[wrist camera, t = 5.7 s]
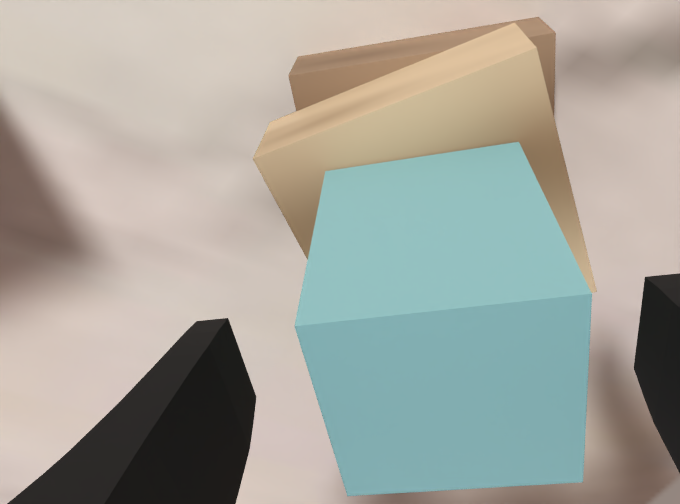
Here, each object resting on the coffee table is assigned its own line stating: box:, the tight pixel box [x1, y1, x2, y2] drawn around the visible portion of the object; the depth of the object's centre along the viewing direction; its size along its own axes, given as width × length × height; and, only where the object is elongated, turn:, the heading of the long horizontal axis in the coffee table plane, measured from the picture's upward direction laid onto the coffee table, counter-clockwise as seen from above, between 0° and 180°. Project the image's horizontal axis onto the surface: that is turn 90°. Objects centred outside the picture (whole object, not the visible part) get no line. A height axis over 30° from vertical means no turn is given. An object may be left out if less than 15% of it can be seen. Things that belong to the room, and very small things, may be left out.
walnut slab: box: [289, 17, 556, 116], centre depth 16 cm, size 6×6×2 cm
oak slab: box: [253, 23, 597, 293], centre depth 14 cm, size 6×6×2 cm
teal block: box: [295, 142, 592, 496], centre depth 11 cm, size 4×4×5 cm
